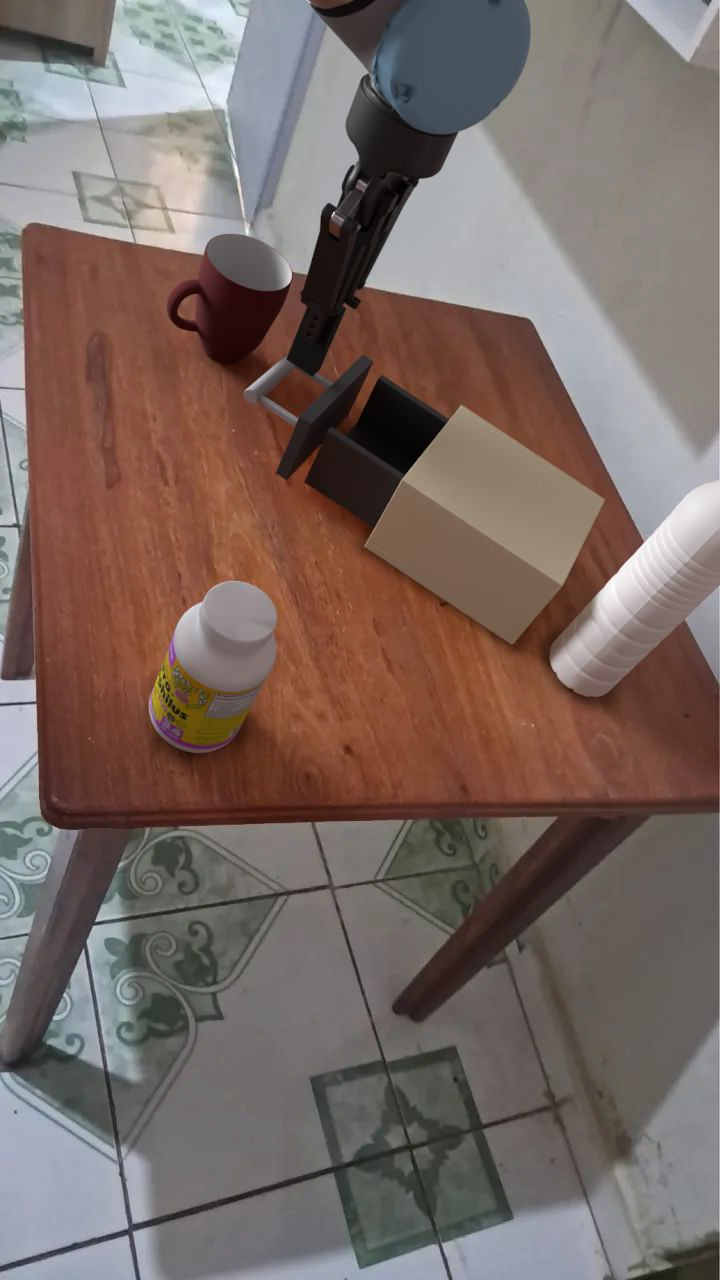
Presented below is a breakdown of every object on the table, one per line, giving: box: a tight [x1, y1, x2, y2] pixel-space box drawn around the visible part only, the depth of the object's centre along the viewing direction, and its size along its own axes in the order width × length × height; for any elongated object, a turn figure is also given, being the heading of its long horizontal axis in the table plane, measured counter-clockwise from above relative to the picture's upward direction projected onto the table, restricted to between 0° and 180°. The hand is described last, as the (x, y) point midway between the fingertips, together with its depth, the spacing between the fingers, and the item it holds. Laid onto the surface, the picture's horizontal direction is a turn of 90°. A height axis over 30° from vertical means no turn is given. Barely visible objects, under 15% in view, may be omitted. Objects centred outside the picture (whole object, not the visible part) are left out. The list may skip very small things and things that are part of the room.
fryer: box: [364, 404, 606, 646], centre depth 85 cm, size 16×14×9 cm
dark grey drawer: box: [243, 352, 451, 529], centre depth 85 cm, size 20×12×7 cm, turn 63°
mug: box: [166, 233, 294, 365], centre depth 88 cm, size 10×8×10 cm
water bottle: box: [549, 479, 720, 698], centre depth 75 cm, size 9×6×25 cm
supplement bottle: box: [148, 580, 278, 754], centre depth 63 cm, size 7×7×13 cm
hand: (303, 364), depth 83 cm, fingers closed
